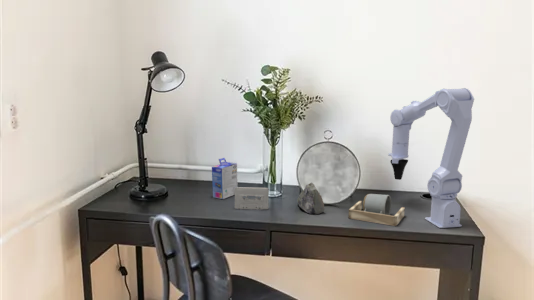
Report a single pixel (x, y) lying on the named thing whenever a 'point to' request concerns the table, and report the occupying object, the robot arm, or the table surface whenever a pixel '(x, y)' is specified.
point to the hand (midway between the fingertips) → (398, 179)
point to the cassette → (251, 203)
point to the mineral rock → (311, 200)
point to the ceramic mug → (377, 203)
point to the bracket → (375, 215)
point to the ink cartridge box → (224, 179)
